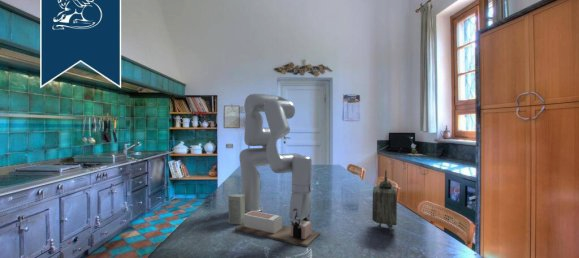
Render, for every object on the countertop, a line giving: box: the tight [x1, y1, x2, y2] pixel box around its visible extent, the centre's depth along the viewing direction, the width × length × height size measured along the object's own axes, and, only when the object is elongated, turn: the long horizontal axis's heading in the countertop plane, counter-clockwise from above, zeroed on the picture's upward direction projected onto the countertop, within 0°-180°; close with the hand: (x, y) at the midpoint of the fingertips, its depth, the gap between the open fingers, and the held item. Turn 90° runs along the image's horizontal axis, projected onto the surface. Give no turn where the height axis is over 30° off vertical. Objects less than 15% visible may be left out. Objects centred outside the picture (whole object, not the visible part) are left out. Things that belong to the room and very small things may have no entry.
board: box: [235, 223, 321, 248], centre depth 108 cm, size 32×12×1 cm, turn 62°
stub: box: [290, 220, 312, 239], centre depth 103 cm, size 6×6×5 cm
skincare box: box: [227, 193, 245, 225], centre depth 119 cm, size 6×4×12 cm
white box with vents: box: [243, 211, 283, 233], centre depth 111 cm, size 15×6×5 cm, turn 62°
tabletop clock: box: [371, 169, 398, 236], centre depth 112 cm, size 14×9×25 cm, turn 160°
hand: (301, 234), depth 103 cm, fingers closed on stub, 6 cm apart
